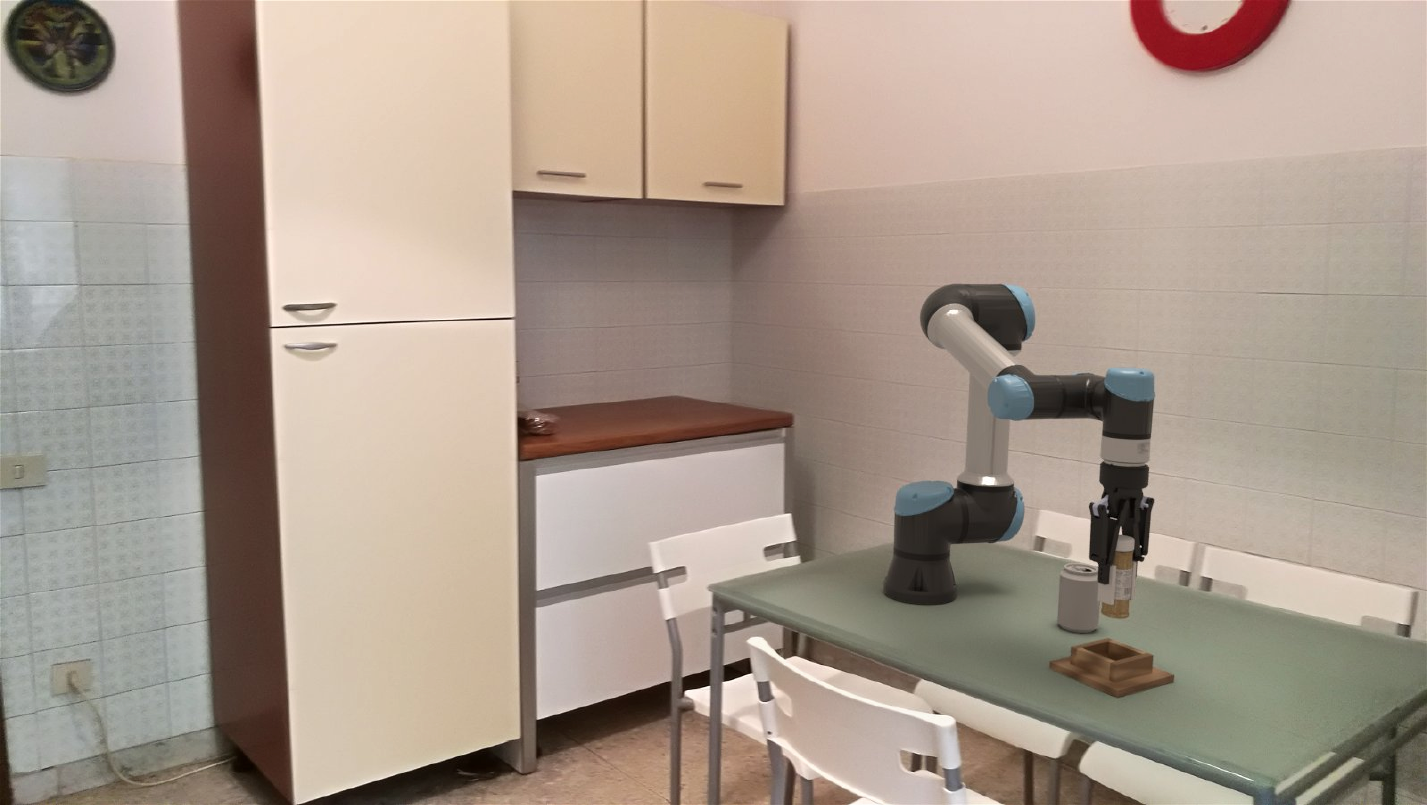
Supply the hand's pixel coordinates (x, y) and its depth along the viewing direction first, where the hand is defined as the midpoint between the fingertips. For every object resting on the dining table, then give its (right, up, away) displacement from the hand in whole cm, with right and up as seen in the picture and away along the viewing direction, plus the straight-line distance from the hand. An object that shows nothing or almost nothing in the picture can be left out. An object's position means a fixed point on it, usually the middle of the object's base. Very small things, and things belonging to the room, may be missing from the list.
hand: (1115, 599), depth 172 cm
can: (+2, -10, +25) cm, 27 cm away
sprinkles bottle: (0, -3, 0) cm, 3 cm away
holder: (0, -13, +2) cm, 13 cm away
